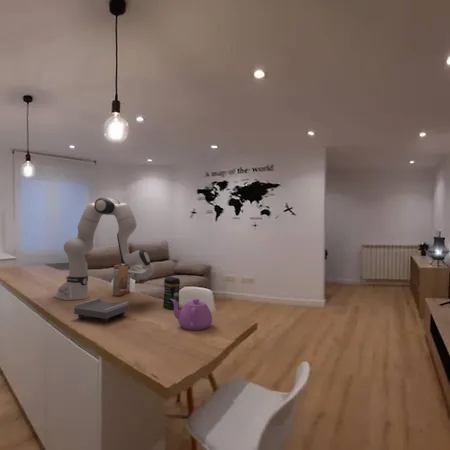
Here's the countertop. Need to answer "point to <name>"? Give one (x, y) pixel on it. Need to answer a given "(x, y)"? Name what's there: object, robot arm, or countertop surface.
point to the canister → (122, 276)
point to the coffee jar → (171, 292)
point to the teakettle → (193, 315)
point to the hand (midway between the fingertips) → (122, 275)
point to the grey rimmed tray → (100, 309)
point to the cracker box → (116, 291)
